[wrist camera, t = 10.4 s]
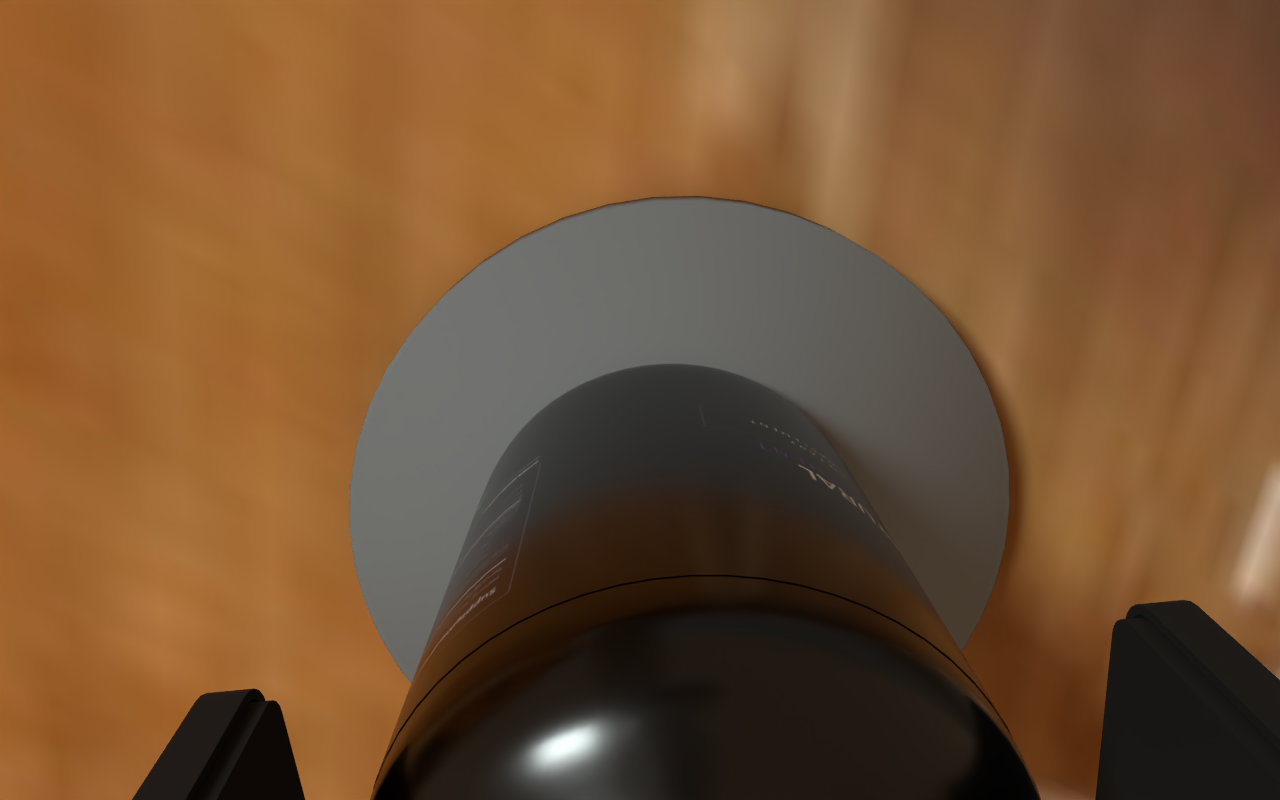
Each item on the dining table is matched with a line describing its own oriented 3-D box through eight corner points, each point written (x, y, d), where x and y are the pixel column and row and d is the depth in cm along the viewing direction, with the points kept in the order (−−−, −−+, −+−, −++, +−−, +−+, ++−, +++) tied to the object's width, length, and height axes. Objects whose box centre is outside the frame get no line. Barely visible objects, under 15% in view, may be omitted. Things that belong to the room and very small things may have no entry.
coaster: (302, 229, 16) (286, 236, 15) (1004, 164, 16) (1023, 168, 15) (416, 799, 20) (408, 828, 19) (983, 748, 20) (998, 774, 19)
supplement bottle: (909, 411, 16) (1603, 1158, 5) (778, 725, 18) (1049, 1779, 7) (530, 299, 15) (291, 883, 4) (436, 641, 17) (100, 1672, 6)
